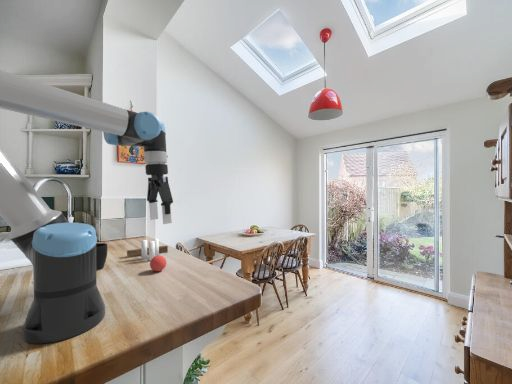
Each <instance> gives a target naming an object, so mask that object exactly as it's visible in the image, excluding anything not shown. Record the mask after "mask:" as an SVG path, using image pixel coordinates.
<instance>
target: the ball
mask: <svg viewBox="0 0 512 384" xmlns="http://www.w3.org/2000/svg"><path fill="white" fill-rule="evenodd" d="M149 266H150V269H151V270H153V271H154V272H160V271H163V270H164V269H165V268H166V266H167V259H166V257H164V256H163V255H160V254H159V255H158V256H155V257H153V258H152V259H151V261H149Z"/></svg>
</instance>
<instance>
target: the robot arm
mask: <svg viewBox="0 0 512 384" xmlns="http://www.w3.org/2000/svg"><path fill="white" fill-rule="evenodd" d="M0 109H2V110H7V111H10V112H15V113H19V114H22V115H23V114H24V115H28V116H33V117H37V118H41V119H45V120H50V121H55V122H60V123H63V124H67V125H68V124H69V125H72V126H77V127H80V128H81V127H82V128H85V129H90V130H93V131H98V132H103V139H104V141H105V142H106V143H107V144H108V145H112V146H117V147H119V146H125V147H140V148H141V147H143V157H144V163H145V166H144V168H145V174H146V175H147V176H151V177H148V178H147V182H148V184H147V193H146V195H147V196H146V201H147V202H148V204H149V215H150V216H149V217H150V220H151V221H152V220H159V211H158V194H159V198H160V199H161V203H160V205H161V213H162V214H161V215H162V224H163V225H167V224H171V223H172V208H171V207H172V206H171V205H172V204H173V203H174V199H173V195H172V192H171V188H170V184H169V177H168V176H165V175H168V174H169V169H168V164H167V163H168V157H169V155H167V140H166V135H167V134H166V127H165V123H164V122H163V121H161V120H160V118H159V117H158V116H157V115H155V113H153V112H150V111H139V112H135V111H132V110H129V109H127V108H126V109H125V108H122V107H119V106H116V105H113V104H110V103H107V102H103V101H100V100H97V99H94V98H91V97H88V96H87V97H86V96H84V95H81V94H79V93H75V92H72V91H68V90H65V89H62V88H59V87H56V86H53V85H49V84H47V83H43V82H40V81H37V80H33V79H31V78H28V77H24V76H21V75H18V74H15V73H12V72H9V71H6V70H2V69H0ZM0 217H1V219H2V220H3V221H4V222H6V224H7V225H8V226H9V227H10V229H11V230H10V232H9V235H8V239H10V240H11V242H12V243H13V244H14V245H15V246H16V247H17V249H19V250H20V252H22V253H23V255H24V256H25V258H26V259H27V260H29V261H30V264H31V265H32V270H33V271H32V272H33V278H32V279H33V300H32V303H31V305H30V308H29V310H28V313H27V315H26V317H25V321H24V322H23V325H22V338H23V340H24V341H25V342H27V343H29V344H30V343H31V344H36V345H37V344H49V343H50V344H51V343H54V342H59V341H63V340H66V339H69V338H73V337H75V336H78V335H81V334H83V333H85V332H86V331H89V330H91V329H93V328H94V327H95V326H97V325H98V324H99V323H101V321H103V319H104V318H105V316H106V305H105V302H104V300H103V298H102V295H101V293H100V291H99V288H98V285H97V284H98V283H97V271H96V243H98V236H97V233H96V232H97V231H96V228H95V227H94V226H93V225H91V224H88V223H83V222H82V223H81V222H70V221H69V220H68V218H66V216H65V215H64V214H63V212H62V211H60V210H55V209H51V208H50V206H49V205H48V204H47V203H46V201H44V199H43V198H42V196H41V195H40V194H39V192H37V190H36V189H35V188H34V186H33V185H32V184H31V183H30V181H29V180H28V178H27V177H26V176H25V175H24V174H23V172H22V171H21V170H20V168H19V167H18V166H17V165H16V163H15V162H14V161H13V159H12V158H11V157H10V156H9V154H8V153H7V152H6V151H5V150H4V148H3V147H2V146H1V145H0Z"/></svg>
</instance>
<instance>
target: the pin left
mask: <svg viewBox="0 0 512 384" xmlns="http://www.w3.org/2000/svg"><path fill="white" fill-rule="evenodd" d="M140 242H141V247H140V249H141V252H142V256H141V260H142V261H143V260H144V261H145V260H147V259H148V255H147V248H148V240H147V239H142V240H141V241H140Z"/></svg>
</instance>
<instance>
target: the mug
mask: <svg viewBox="0 0 512 384" xmlns="http://www.w3.org/2000/svg"><path fill="white" fill-rule="evenodd" d="M107 256H108V243H106V242H96V272H97V271H99V270H103V269H104V268H105V263H106V262H107Z"/></svg>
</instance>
